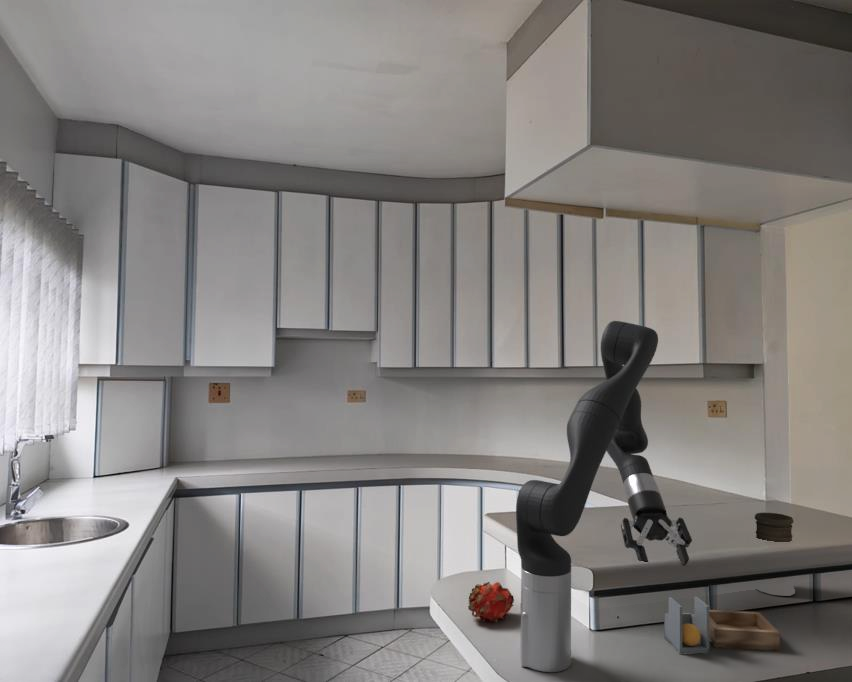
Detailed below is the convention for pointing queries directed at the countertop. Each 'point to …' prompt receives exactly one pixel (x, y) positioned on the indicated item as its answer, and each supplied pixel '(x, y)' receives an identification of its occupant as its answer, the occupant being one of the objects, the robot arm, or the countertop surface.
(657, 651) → the countertop surface
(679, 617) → the holder
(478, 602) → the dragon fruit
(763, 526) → the container
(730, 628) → the tray
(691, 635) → the ball
